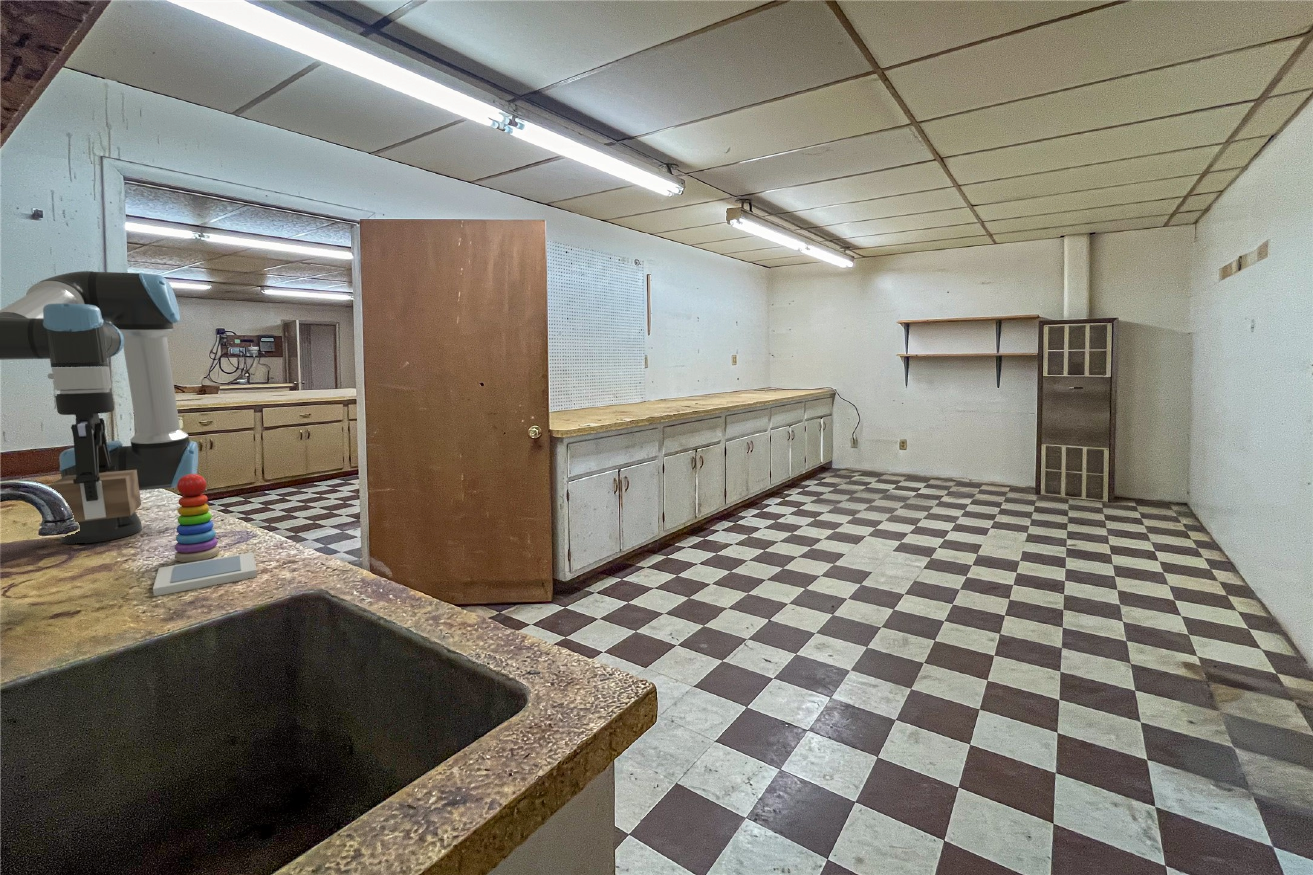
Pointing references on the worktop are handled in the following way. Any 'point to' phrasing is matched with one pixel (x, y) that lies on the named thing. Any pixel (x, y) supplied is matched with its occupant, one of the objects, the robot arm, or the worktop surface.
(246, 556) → the baseplate
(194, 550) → the stacking toy
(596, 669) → the worktop surface
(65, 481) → the walnut block
